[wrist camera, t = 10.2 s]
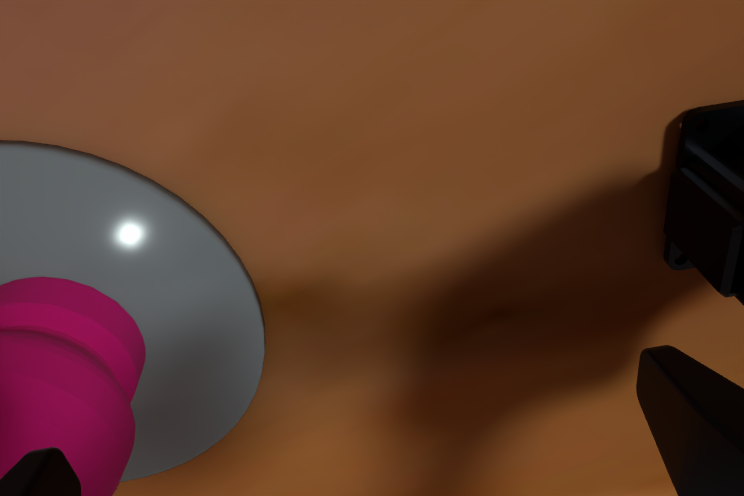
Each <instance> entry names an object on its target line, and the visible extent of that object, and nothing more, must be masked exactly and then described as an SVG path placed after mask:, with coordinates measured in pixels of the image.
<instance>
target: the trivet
mask: <svg viewBox="0 0 744 496" xmlns="http://www.w3.org/2000/svg"><path fill="white" fill-rule="evenodd" d="M32 277H52V278H61V279H68V280H72V281H75V282H78V283H81V284H84V285H88V286H91V287H93V288H95V289H97V290H98V291H100V292H102V293H103V294H105V295H107V296H108V297H110V298H112V299H113V300H115V301H117V302H118V303H119V304H120V305H121V306H122V307H123V308H124V309H125V310H126V311H127V313H128V314H129V315H130V316H131V317H132V318H133V319H134V321H135V322H136V324H137V326H138V328H139V330H140V332H141V334H142V336H143V340H144V343H145V350H146V357H145V363H144V367H143V370H142V373H141V376H140V379H139V382H138V385H137V388H136V392H135V395H134V397H133V399H132V401H131V403H130V405H131V408H132V411H133V416H134V421H135V441H134V446H133V450H132V453H131V456H130V459H129V461H128V463H127V466H126V468H125V470H124V473H123V475H122V477H121V479H120V482H123V481H128V480H133V479H138V478H143V477H147V476H150V475H153V474H157V473H160V472H163V471H166V470H169V469H171V468H174V467H176V466H178V465H181V464H183V463H185V462H187V461H189V460H191V459H193V458H195V457H196V456H198V455H200V454H202V453H203V452H205V451H206V450H208V449H209V448H210V447H212V446H213V445H214V444H216V443H217V442H218V441H220V440H221V439H222V438H223V437H224V436H225V435H226V434H227V433H228V432H229V431H230V430H231V429H232V428H233V427H234V426H235V425H236V424H237V423H238V421H239V420H240V419H241V417H242V416H243V415H244V413H245V412H246V411H247V409H248V407H249V405H250V403H251V401H252V399H253V397H254V395H255V393H256V390H257V387H258V384H259V381H260V378H261V374H262V366H263V359H264V350H265V324H264V318H263V313H262V308H261V303H260V300H259V297H258V294H257V292H256V289H255V286H254V284H253V281H252V279H251V277H250V275H249V273H248V272H247V270H246V268H245V266H244V265H243V263H242V261H241V259H240V258H239V256H238V255H237V254H236V252H235V251H234V250H233V248H232V247H231V246H230V244H229V243H228V242H227V240H226V239H225V238H224V237H223V236H222V234H221V233H220V232H219V231H218V230H217V229H216V228H215V227H214V226H213V225H212V224H211V223H210V222H209V221H208V220H207V219H206V218H205V217H204V216H203V215H201V214H200V213H199V212H198V211H196V210H195V209H194V208H193V207H191V206H190V205H189V204H188V203H186V202H185V201H184V200H183V199H181V198H180V197H179V196H177V195H175V194H174V193H172V192H171V191H169V190H168V189H166V188H164V187H163V186H161V185H160V184H158V183H156V182H155V181H153V180H151V179H149V178H147V177H145V176H143V175H141V174H139V173H137V172H135V171H133V170H131V169H129V168H127V167H125V166H122V165H120V164H117V163H114V162H112V161H109V160H106V159H103V158H101V157H98V156H95V155H92V154H89V153H85V152H81V151H77V150H73V149H69V148H65V147H61V146H57V145H49V144H42V143H35V142H27V141H8V140H0V285H3V284H5V283H8V282H11V281H13V280H18V279H25V278H32Z"/></svg>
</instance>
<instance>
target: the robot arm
mask: <svg viewBox="0 0 744 496" xmlns="http://www.w3.org/2000/svg"><path fill="white" fill-rule="evenodd" d="M703 118H704V121H703V123H702V124H701V125H700V126H699V127H697V128H695V125H696V123H697V122H698V121H699V120H700V119H703ZM664 233H665V234H666V242H665V249H664V260H665V262H666V263H667V264H668V265H669V267H670V268H671V269H674V270H684V269H690V268H697V270H698V271H699V272H700V273H701V274H702V275H703V276H704V277H705V278H706V279H707V280H708V282H709V283H710V284H711V285H712V286H713V287H714V288H715V289H716V290H717V291H718V292H719V293H720V294H721V295H723V296H724V297H732V296H735V297H736V298H737V299H738V300H739V301H740V302H741V303H742V304H743V305H744V100H741V101H734V102H728V103H722V104H716V105H709V106H703V107H698V108H695V109H692V110H691V111H689V112H688V113H687V114H686V116H685V117H684V118H683V121H682V125H681V133H680V140H679V147H678V155H677V162H676V169H675V170H674V171H673V173H672V175H671V178H670V186H669V193H668V201H667V208H666V216H665V223H664ZM681 254H682V256H681V257H680V258H678V259H676V257H677V256H678V255H681ZM636 391H637V397H638V400H639V403H640V406H641V408H642V411H643V413H644V415H645V418H646V420H647V423H648V425H649V428H650V430H651V432H652V435H653V437H654V440H655V442H656V445H657V447H658V449H659V452H660V454H661V457H662V459H663V461H664V464H665V466H666V469H667V471H668V474H669V476H670V478H671V481H672V483H673V485H674V487H675V490H676V492H677V494H678V496H744V389H743V388H742V387H740V386H738V385H737V384H735V383H733V382H731V381H730V380H728V379H726V378H725V377H723V376H721V375H720V374H718V373H716V372H715V371H713V370H711V369H710V368H708V367H706V366H705V365H703V364H701V363H700V362H698V361H696V360H695V359H693V358H691V357H690V356H688V355H686V354H685V353H683V352H681V351H680V350H678V349H676V348H675V347H672V346H669V345H664V346H658V347H652V348H646V349H644V350H643V351H642V352H641V355H640V360H639V368H638V376H637V385H636ZM0 496H81V483H80V480H79V478H78V476H77V475H76V473H75V471H74V470H73V468H72V466H71V465H70V463H69V462H68V460H67V458H66V457H65V455H64V453H63V452H62V451H61V450H60V449H59V448H57V447H49V448H43V449H37V450H32V451H30V452H28V453H27V454H25V455H24V456H23V457H22V458H21V459H20V460H19V461H18V462H17V463H16V464H15V465H14V466H13V467H12V468H11V469H10V470H9V471H8V472H7V473H6V474H5V475H4V476H3V477H2V478H1V479H0Z"/></svg>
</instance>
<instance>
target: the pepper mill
mask: <svg viewBox="0 0 744 496" xmlns="http://www.w3.org/2000/svg"><path fill="white" fill-rule="evenodd" d="M145 357H146V350H145V343H144V340H143V336H142V334H141V332H140V330H139V328H138V326H137V324H136V322H135V321H134V319H133V318H132V317H131V316H130V315H129V314H128V313H127V311H126V310H125V309H124V308H123V307H122V306H121V305H120V304H119V303H118V302H117V301H115V300H113V299H112V298H110V297H108V296H107V295H105V294H103V293H102V292H100V291H98V290H97V289H95V288H93V287H91V286H88V285H84V284H81V283H78V282H75V281H72V280H68V279H61V278H52V277H32V278H25V279H18V280H13V281H11V282H8V283H5V284H3V285H0V479H1V478H2V477H3V476H4V475H5V474H6V473H7V472H8V471H9V470H10V469H11V468H12V467H13V466H14V465H15V464H16V463H17V462H18V461H19V460H20V459H21V458H22V457H23V456H24V455H25V454H27V453H28V452H30V451H32V450H37V449H43V448H49V447H57V448H59V449H60V450H61V451H62V452H63V453H64V455H65V457H66V458H67V460H68V462H69V463H70V465H71V466H72V468H73V470H74V471H75V473H76V475H77V476H78V478H79V480H80V483H81V496H112V495H113V493H114V492H115V490H116V489H117V486H118V484H119V482H120V479H121V477H122V475H123V473H124V470H125V468H126V466H127V463H128V461H129V459H130V456H131V453H132V450H133V446H134V441H135V421H134V416H133V411H132V408H131V405H130V403H131V401H132V399H133V397H134V395H135V392H136V388H137V385H138V382H139V379H140V376H141V373H142V370H143V367H144V363H145Z"/></svg>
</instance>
